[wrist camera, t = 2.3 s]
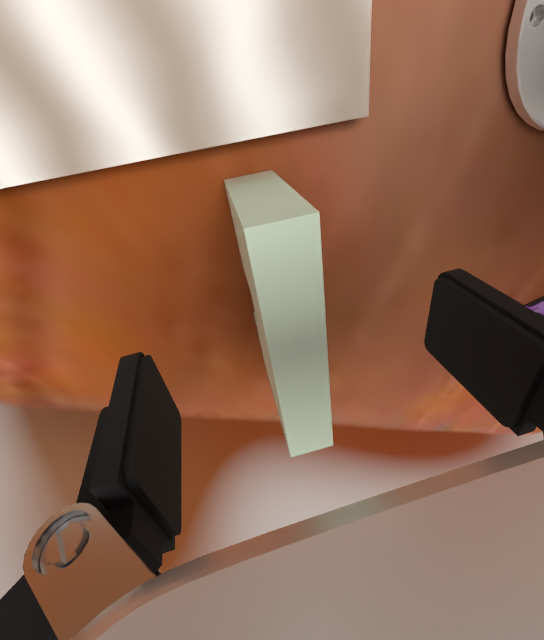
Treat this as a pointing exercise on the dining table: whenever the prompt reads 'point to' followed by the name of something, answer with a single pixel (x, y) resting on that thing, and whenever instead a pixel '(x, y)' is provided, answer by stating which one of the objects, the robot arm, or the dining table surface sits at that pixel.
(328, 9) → the white rectangular board
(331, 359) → the dining table surface
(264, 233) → the cross piece
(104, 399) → the dining table surface
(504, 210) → the dining table surface
